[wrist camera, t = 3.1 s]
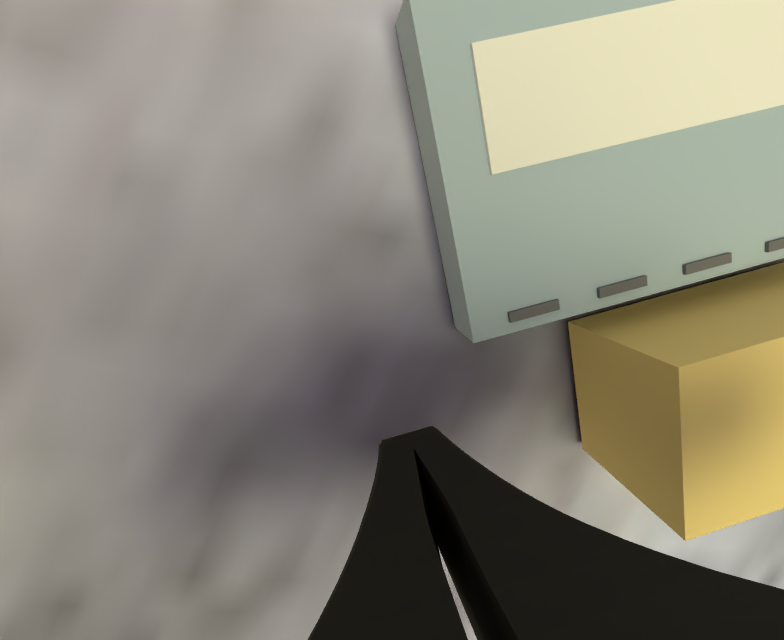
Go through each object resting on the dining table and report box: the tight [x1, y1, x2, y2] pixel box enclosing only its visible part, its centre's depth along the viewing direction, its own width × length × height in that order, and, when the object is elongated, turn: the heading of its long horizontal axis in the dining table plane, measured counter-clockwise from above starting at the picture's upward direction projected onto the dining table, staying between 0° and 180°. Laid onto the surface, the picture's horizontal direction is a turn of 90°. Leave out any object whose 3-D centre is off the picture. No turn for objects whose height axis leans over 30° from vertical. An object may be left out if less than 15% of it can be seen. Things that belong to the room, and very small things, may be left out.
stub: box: [568, 262, 784, 541], centre depth 10 cm, size 7×4×4 cm, turn 102°
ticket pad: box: [396, 0, 784, 343], centre depth 9 cm, size 14×7×2 cm, turn 103°
